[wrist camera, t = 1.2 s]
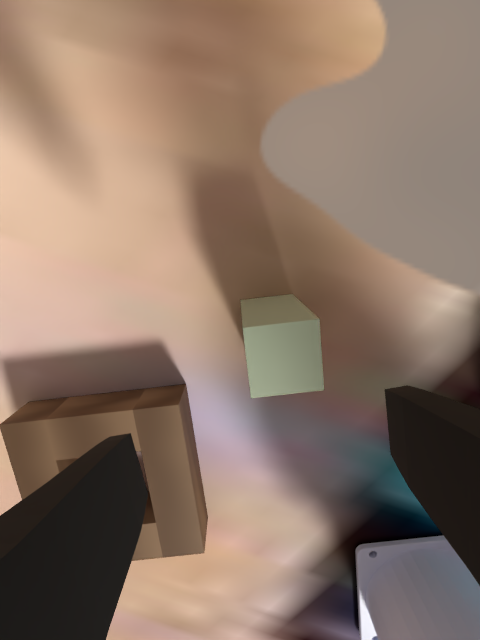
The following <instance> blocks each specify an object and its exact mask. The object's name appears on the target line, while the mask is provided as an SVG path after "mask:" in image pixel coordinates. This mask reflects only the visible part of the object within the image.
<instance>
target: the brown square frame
mask: <svg viewBox="0 0 480 640" xmlns="http://www.w3.org/2000/svg"><path fill="white" fill-rule="evenodd" d="M0 429H1V432H2V436H3V439H4V442H5V446H6V449H7V452H8V455H9V459H10V462H11V465H12V468H13V472H14V475H15V478H16V481H17V485H18V488H19V491H20V494H21V498H22V500H23V499H24V498H26V497H27V496H29V495H30V494H31V493H33V492H34V491H36V490H37V489H38V488H40V487H41V486H43V485H44V484H45V483H47V482H48V481H49V480H51V479H52V478H53V477H55V476H56V475H57V474H59V473H60V472H61V471H63V470H64V469H65V468H66V467H68V466H69V465H70V464H72V463H73V462H74V461H76V460H77V459H78V458H80V457H81V456H82V455H84V454H85V453H86V452H88V451H89V450H90V449H92V448H93V447H94V446H96V445H97V444H99V443H100V442H102V441H103V440H105V439H107V438H108V437H110V436H116V435H122V434H128V433H131V436H132V439H133V443H134V446H135V450H136V451H141V453H142V458H143V463H144V468H145V473H146V478H147V482H148V487H149V492H148V498H147V504H146V509H145V515H144V519H143V524H142V529H141V533H140V536H139V539H138V542H137V545H136V549H135V552H134V555H133V558H132V561H135V560H144V559H154V558H163V557H172V556H182V555H191V554H201V553H204V550H205V540H206V530H207V521H208V515H207V509H206V503H205V497H204V491H203V485H202V479H201V473H200V467H199V460H198V454H197V448H196V442H195V436H194V430H193V424H192V418H191V412H190V406H189V399H188V393H187V387H186V384H181V385H173V386H164V387H155V388H146V389H137V390H129V391H120V392H111V393H102V394H93V395H85V396H76V397H67V398H58V399H49V400H41V401H32V402H28V403H27V404H26V405H24V406H23V407H22V408H20V409H19V410H18V411H17V412H15V413H14V414H13V415H11V416H10V417H9V418H8V419H6V420H5V421H4V422H2V423H1V424H0Z"/></svg>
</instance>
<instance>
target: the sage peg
mask: <svg viewBox="0 0 480 640" xmlns="http://www.w3.org/2000/svg"><path fill="white" fill-rule="evenodd" d="M240 302H241V315H242V327H243V336H244V344H245V353H246V361H247V370H248V378H249V386H250V395H251V398H260V397H269V396H277V395H286V394H295V393H304V392H313V391H322V390H324V381H323V366H322V351H321V335H320V320H319V318H318V317H317V316H316V315H315V314H314V313H312V312H311V311H310V310H309V309H308V308H307V307H306V306H305V305H304V304H303V303H302V302H301V301H300V300H298V299H297V298H296V297H295V296H294V295H293V294H287V295H279V296H270V297H262V298H253V299H245V300H240Z"/></svg>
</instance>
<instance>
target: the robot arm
mask: <svg viewBox="0 0 480 640" xmlns="http://www.w3.org/2000/svg"><path fill="white" fill-rule="evenodd" d="M385 396H386V408H387V419H388V430H389V441H390V452H391V456H392V458H393V459H394V461H395V463H396V465H397V467H398V469H399V471H400V472H401V474H402V476H403V478H404V480H405V481H406V483H407V485H408V487H409V488H410V490H411V491H412V492H413V494H414V495H415V497H416V498H417V499H418V501H419V502H420V504H421V505H422V506H423V508H424V509H425V511H426V512H427V513H428V515H429V516H430V518H431V519H432V520H433V522H434V523H435V524H436V526H437V527H438V528H439V530H440V531H441V533H442V534H443V536H433V537H424V538H414V539H405V540H395V541H386V542H377V543H367V544H361V545H359V546H357V548H356V550H355V555H356V576H357V597H358V618H359V635H360V638H361V640H480V409H477V408H474V407H472V406H469V405H466V404H463V403H460V402H457V401H454V400H451V399H448V398H446V397H443V396H440V395H437V394H434V393H431V392H428V391H425V390H422V389H419V388H415V387H411V386H402V387H396V388H390V389H385ZM147 498H148V492H147V489H146V485H145V482H144V478H143V475H142V471H141V468H140V464H139V461H138V457H137V454H136V450H135V446H134V443H133V439H132V436H131V433H128V434H122V435H116V436H110V437H108V438H107V439H105V440H103V441H102V442H100V443H99V444H97V445H96V446H94V447H93V448H92V449H90V450H89V451H88V452H86V453H85V454H84V455H82V456H81V457H80V458H78V459H77V460H76V461H74V462H73V463H72V464H70V465H69V466H68V467H66V468H65V469H64V470H63V471H61V472H60V473H59V474H57V475H56V476H55V477H53V478H52V479H51V480H49V481H48V482H47V483H45V484H44V485H43V486H41V487H40V488H38V489H37V490H36V491H34V492H33V493H31V494H30V495H29V496H27V497H26V498H24V499H23V500H22V501H20V502H19V503H18V504H16V505H15V506H13V507H12V508H11V509H9V510H8V511H6V512H5V513H4V514H2V515H1V516H0V640H106V637H107V634H108V630H109V627H110V624H111V621H112V618H113V615H114V612H115V609H116V606H117V603H118V600H119V597H120V594H121V591H122V588H123V585H124V582H125V579H126V576H127V573H128V570H129V567H130V564H131V561H132V558H133V555H134V552H135V549H136V545H137V542H138V539H139V536H140V533H141V529H142V524H143V519H144V515H145V509H146V504H147ZM372 551H373V552H372Z"/></svg>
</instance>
